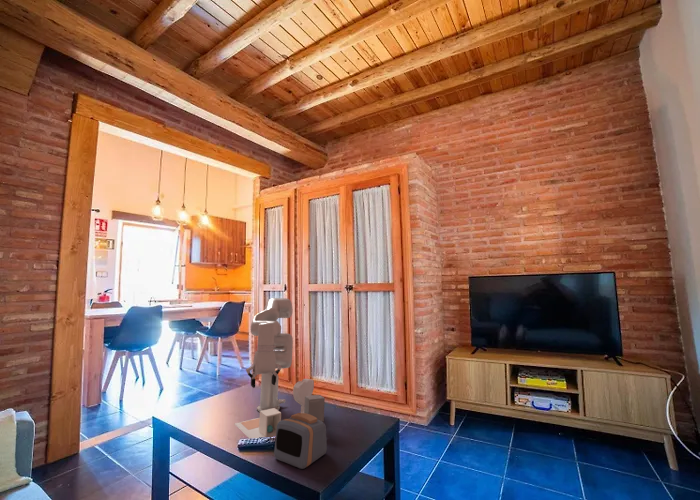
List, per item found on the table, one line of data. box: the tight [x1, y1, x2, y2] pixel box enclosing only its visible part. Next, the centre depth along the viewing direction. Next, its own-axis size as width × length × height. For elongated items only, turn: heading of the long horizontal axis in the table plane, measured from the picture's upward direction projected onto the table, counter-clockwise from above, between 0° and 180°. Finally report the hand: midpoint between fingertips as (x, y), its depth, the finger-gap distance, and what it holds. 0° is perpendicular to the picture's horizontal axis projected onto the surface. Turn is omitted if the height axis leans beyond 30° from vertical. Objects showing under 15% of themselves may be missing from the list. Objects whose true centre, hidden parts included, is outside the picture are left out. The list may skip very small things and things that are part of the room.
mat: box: [234, 417, 276, 440], centre depth 156 cm, size 16×26×1 cm, turn 39°
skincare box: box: [304, 394, 326, 424], centre depth 157 cm, size 8×7×16 cm
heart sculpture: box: [292, 378, 315, 413], centre depth 176 cm, size 16×5×18 cm, turn 156°
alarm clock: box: [273, 412, 328, 470], centre depth 133 cm, size 16×16×16 cm
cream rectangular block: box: [258, 408, 282, 437], centre depth 153 cm, size 7×7×9 cm
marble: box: [267, 425, 273, 432], centre depth 153 cm, size 3×3×3 cm
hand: (263, 385), depth 155 cm, fingers open, 9 cm apart
